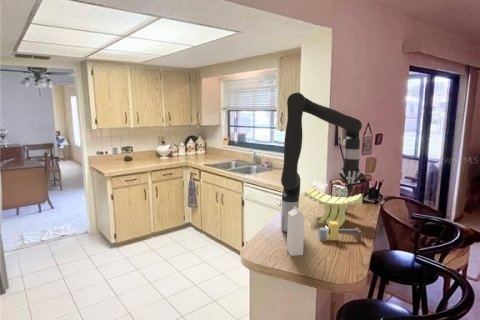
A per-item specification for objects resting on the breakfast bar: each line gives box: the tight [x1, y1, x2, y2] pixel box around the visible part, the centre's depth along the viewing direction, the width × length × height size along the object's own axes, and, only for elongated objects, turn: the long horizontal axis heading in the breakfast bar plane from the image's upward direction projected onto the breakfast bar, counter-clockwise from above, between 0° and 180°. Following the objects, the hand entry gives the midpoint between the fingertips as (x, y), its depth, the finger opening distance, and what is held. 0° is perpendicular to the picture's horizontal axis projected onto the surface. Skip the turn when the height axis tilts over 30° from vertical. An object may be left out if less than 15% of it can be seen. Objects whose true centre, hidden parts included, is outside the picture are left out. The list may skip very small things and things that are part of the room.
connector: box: [318, 227, 327, 242], centre depth 156 cm, size 3×4×6 cm
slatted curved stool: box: [304, 187, 363, 228], centre depth 182 cm, size 30×16×18 cm, turn 58°
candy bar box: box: [331, 184, 349, 213], centre depth 203 cm, size 11×5×16 cm, turn 17°
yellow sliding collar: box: [327, 221, 340, 241], centre depth 155 cm, size 4×5×8 cm
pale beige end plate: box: [324, 225, 329, 237], centre depth 155 cm, size 1×4×4 cm, turn 178°
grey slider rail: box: [329, 228, 362, 235], centre depth 155 cm, size 20×2×2 cm, turn 88°
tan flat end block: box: [353, 226, 363, 243], centre depth 155 cm, size 2×6×6 cm, turn 178°
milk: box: [286, 206, 305, 257], centre depth 139 cm, size 6×6×22 cm
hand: (349, 190), depth 158 cm, fingers closed
